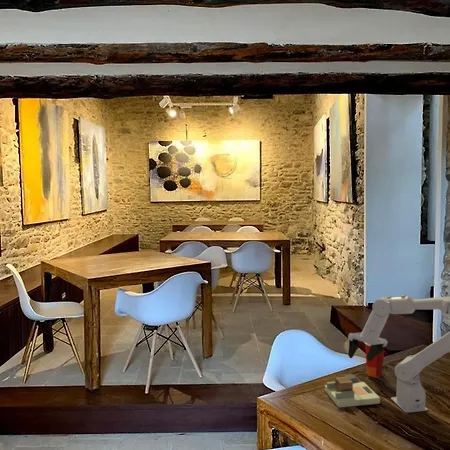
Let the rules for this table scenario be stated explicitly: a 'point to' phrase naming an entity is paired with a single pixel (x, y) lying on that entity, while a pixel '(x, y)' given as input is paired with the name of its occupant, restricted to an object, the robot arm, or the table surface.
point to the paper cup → (374, 363)
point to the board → (352, 395)
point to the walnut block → (343, 384)
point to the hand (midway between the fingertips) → (359, 357)
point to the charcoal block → (351, 377)
